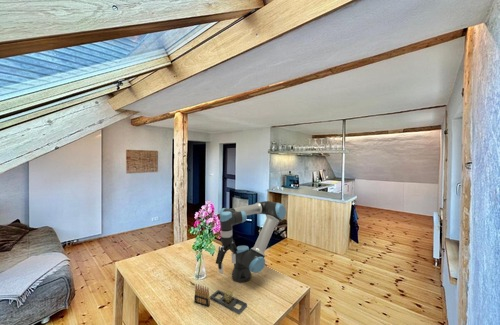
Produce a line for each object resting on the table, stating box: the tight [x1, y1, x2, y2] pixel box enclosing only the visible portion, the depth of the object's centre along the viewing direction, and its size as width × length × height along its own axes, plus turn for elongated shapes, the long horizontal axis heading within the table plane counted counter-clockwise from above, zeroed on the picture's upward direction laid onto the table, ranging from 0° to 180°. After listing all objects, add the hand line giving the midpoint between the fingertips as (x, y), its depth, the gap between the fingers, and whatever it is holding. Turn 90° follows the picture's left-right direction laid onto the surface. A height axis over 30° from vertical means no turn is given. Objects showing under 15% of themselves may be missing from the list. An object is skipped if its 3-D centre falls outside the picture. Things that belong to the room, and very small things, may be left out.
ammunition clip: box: [193, 283, 211, 308], centre depth 128 cm, size 11×2×12 cm, turn 67°
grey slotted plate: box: [209, 289, 248, 315], centre depth 129 cm, size 8×24×2 cm, turn 56°
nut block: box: [224, 289, 234, 304], centre depth 129 cm, size 4×4×7 cm
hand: (227, 267), depth 132 cm, fingers open, 13 cm apart
